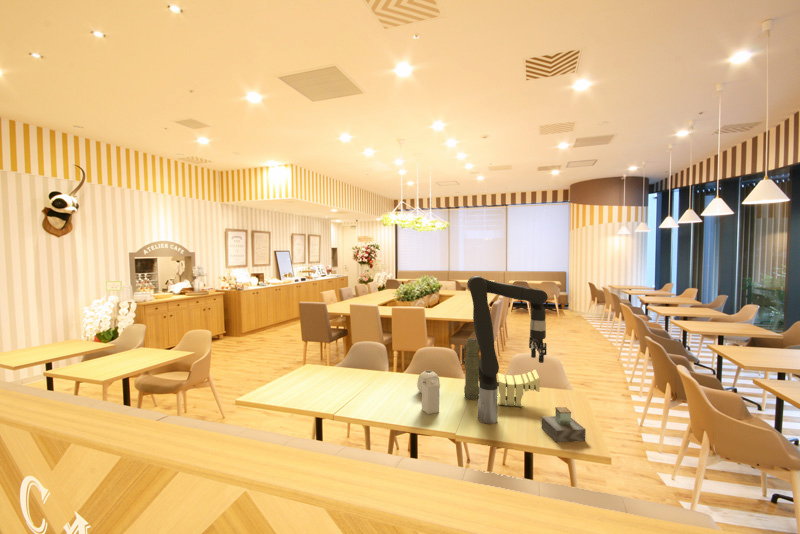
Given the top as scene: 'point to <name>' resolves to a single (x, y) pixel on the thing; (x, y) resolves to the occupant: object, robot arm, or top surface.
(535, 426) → the top surface
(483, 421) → the robot arm
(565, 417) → the tea tin
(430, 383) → the milk carton
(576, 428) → the charcoal box
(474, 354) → the dark green pillar
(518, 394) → the slatted curved stool
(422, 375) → the vase
